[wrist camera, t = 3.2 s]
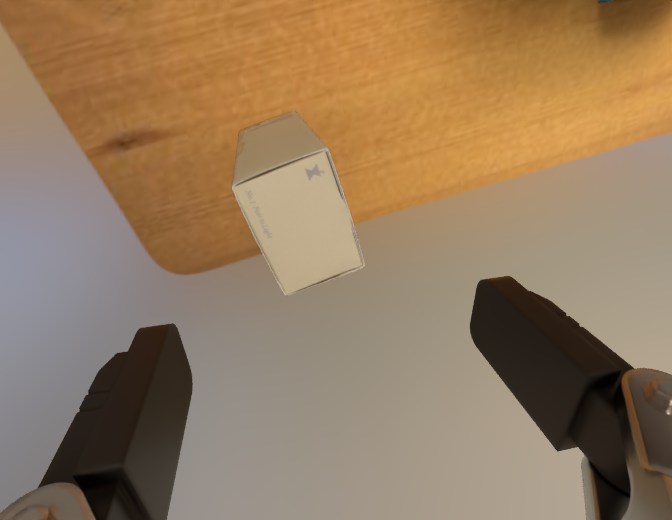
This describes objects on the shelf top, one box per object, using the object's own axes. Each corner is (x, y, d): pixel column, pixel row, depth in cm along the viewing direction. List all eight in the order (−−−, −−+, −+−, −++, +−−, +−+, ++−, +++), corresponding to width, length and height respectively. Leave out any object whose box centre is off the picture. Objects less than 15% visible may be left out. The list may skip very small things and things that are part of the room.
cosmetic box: (237, 130, 24) (221, 179, 14) (298, 108, 25) (328, 141, 14) (272, 211, 28) (281, 301, 17) (326, 191, 28) (368, 268, 17)
